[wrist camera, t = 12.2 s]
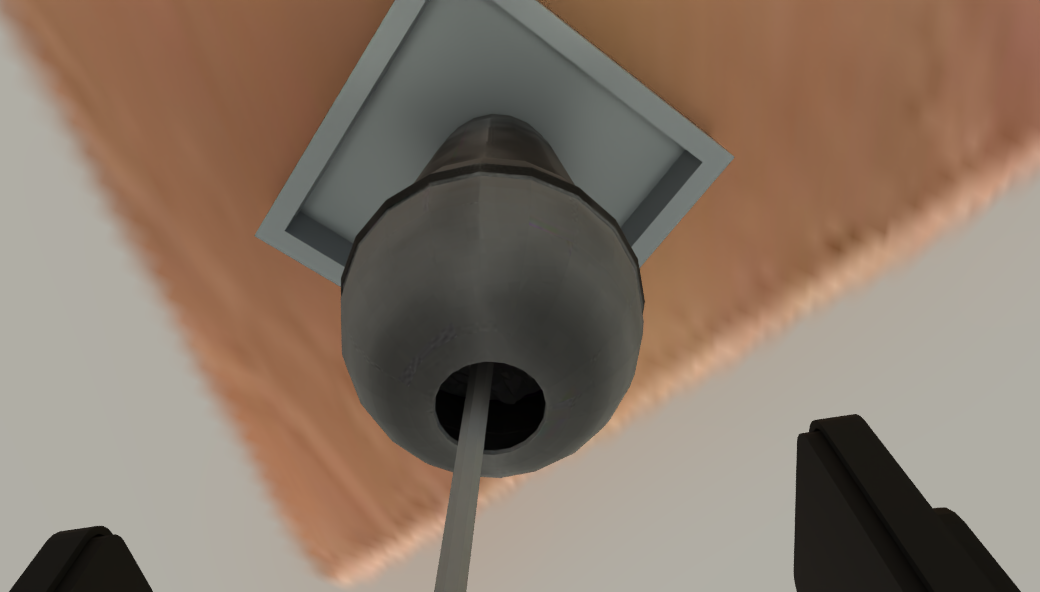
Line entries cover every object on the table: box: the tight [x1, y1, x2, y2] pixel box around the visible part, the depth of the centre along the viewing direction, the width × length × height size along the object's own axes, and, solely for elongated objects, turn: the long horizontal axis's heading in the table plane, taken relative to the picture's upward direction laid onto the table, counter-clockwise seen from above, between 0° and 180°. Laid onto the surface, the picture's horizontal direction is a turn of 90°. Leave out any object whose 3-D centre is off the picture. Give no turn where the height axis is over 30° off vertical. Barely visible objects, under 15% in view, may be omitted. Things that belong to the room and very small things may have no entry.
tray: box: [255, 0, 734, 287], centre depth 27 cm, size 12×12×3 cm
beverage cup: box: [341, 114, 645, 592], centre depth 18 cm, size 7×7×20 cm
